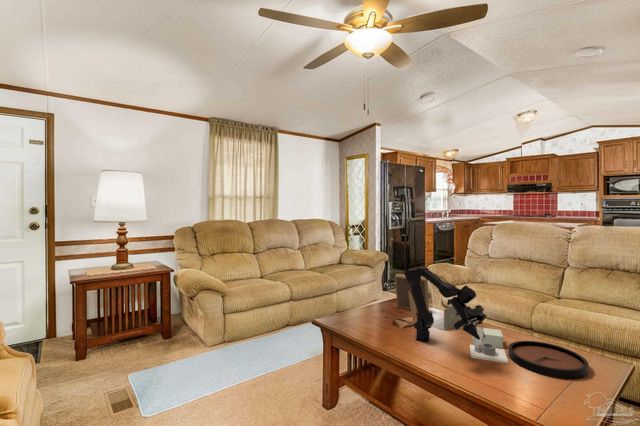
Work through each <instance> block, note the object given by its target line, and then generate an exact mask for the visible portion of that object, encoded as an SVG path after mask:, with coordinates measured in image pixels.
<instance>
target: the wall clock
mask: <svg viewBox="0 0 640 426" xmlns="http://www.w3.org/2000/svg"><path fill="white" fill-rule="evenodd" d="M507 349H508V350H507V351H508V353H507V356H508V358H509V359H510V361H511V362H512V363H514V364H516V365H517V366H519V367H521V368H522V369H525V370H527V371H530V372H531V373H535V374H537V375H541V376H545V377H549V378H554V379H560V380H580V379H584V378H586V377H587V376H588V375H589V368H590V367H589V362H588V360H587V359H586V358H585V357H583V356H582V355H580V354H579V353H578V352H576V351H573V350H571V349H569V348H566V347H563V346H560V345H556V344H553V343H552V344H551V343H548V342H547V343H546V342H543V341H537V340H536V341H535V340H518V341H517V340H516V341H514V342H510V344H508V348H507Z"/></svg>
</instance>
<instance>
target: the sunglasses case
mask: <svg viewBox="0 0 640 426" xmlns="http://www.w3.org/2000/svg"><path fill="white" fill-rule="evenodd" d="M416 322H417V315H414V316H410V317H409V316H407V317H402V318H395V319H394V320H393V321H392V325H393V326H395V327H397V328H399V329H405V328H411V327H414V325H413V324H415V323H416Z"/></svg>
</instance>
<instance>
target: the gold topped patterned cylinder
mask: <svg viewBox="0 0 640 426" xmlns="http://www.w3.org/2000/svg"><path fill="white" fill-rule="evenodd" d="M484 326H485V324H484V323H483V322H482V323H478V322H477V323H475V330H476V332H477V334H478V335H479V337H480V339H479V340H478V339H476V338H475V344H474V345H475V352H478V353H483V334H484V328H485V327H484Z"/></svg>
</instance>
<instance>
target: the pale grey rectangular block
mask: <svg viewBox="0 0 640 426" xmlns="http://www.w3.org/2000/svg"><path fill="white" fill-rule="evenodd" d="M456 313H457V312H456V310H455V309H454V307H453V306H452V305H451V306H450V307H447V308H445V309H443V317H441V318H438V319H434V320H433V321H434V323H433V325H432V326H431V328H435V329H438V330H441V331H447V330H449V329H451V328H454V324H455V323H456V322H457V321H459V320H461V318H460V316H459V315H458V316H457V315H456Z"/></svg>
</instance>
